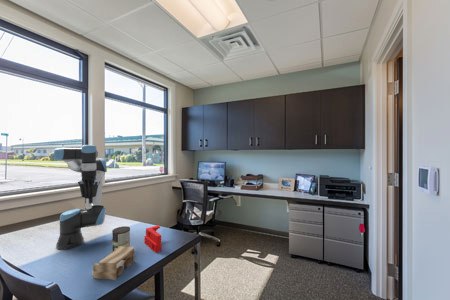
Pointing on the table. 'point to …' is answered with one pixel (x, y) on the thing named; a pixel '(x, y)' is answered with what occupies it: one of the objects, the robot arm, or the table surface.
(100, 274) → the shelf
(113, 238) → the coffee can
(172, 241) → the table surface
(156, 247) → the bracket
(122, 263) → the panel
